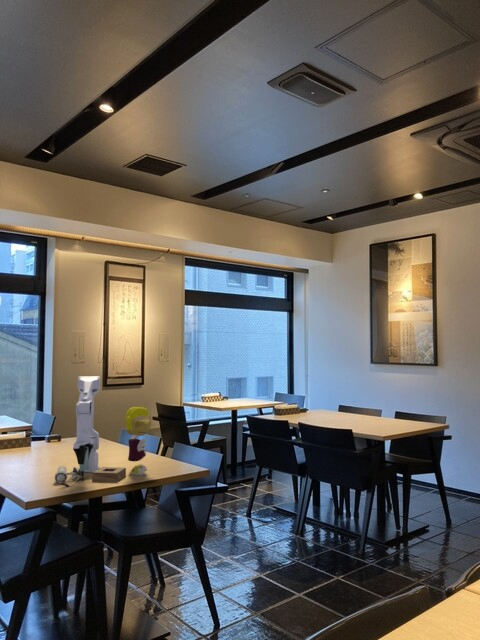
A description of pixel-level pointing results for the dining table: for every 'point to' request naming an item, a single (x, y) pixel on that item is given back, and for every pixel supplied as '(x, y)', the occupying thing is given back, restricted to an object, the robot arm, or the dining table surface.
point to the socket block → (109, 474)
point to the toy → (136, 429)
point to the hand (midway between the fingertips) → (83, 463)
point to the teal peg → (85, 462)
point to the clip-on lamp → (62, 474)
